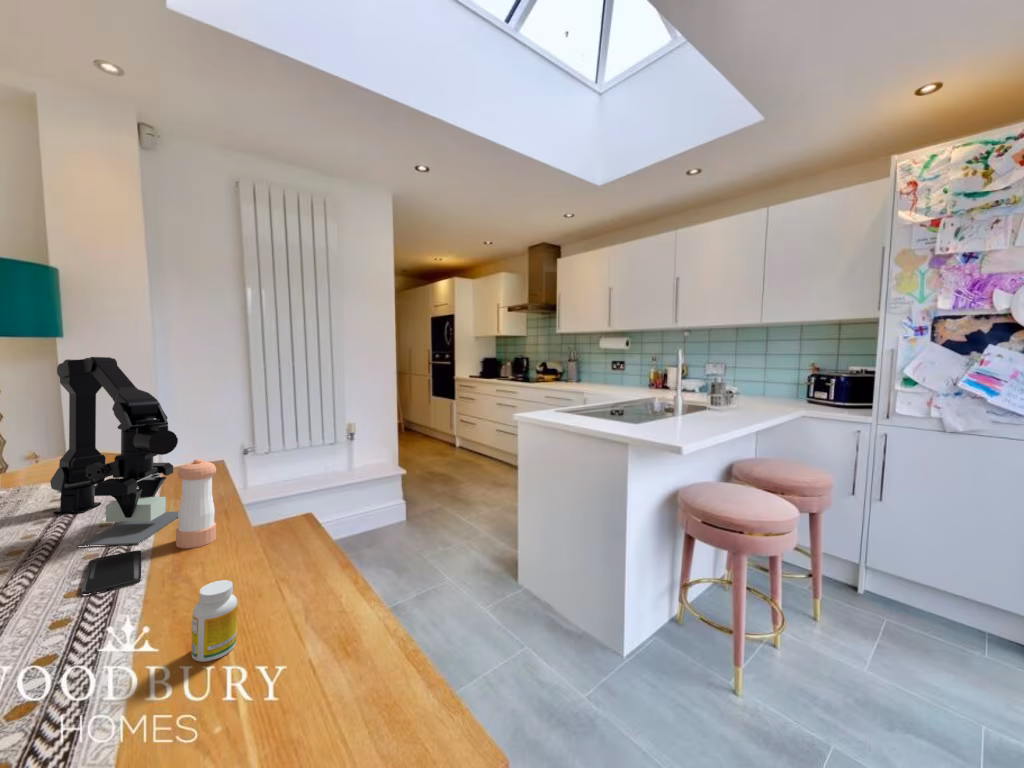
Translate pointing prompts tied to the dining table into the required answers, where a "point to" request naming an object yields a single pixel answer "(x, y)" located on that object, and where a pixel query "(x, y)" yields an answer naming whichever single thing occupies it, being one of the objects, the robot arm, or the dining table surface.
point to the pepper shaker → (196, 505)
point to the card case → (137, 510)
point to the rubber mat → (130, 531)
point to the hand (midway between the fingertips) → (136, 512)
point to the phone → (112, 572)
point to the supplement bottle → (214, 621)
